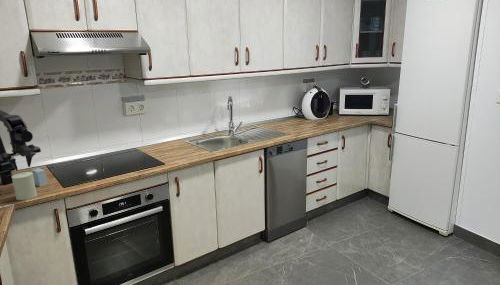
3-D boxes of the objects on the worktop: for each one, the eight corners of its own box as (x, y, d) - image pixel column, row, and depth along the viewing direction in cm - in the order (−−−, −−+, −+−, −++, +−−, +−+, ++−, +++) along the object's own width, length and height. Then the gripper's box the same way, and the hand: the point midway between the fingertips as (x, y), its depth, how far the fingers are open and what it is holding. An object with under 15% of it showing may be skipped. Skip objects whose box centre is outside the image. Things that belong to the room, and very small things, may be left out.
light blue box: (33, 184, 199) (30, 170, 197) (40, 181, 203) (38, 168, 200) (40, 186, 196) (37, 172, 193) (47, 183, 199) (44, 170, 197)
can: (40, 192, 187) (35, 170, 184) (32, 199, 178) (27, 176, 175) (21, 193, 186) (16, 171, 183) (12, 201, 177) (7, 177, 174)
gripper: (4, 146, 175) (11, 176, 179) (43, 137, 190) (48, 166, 194) (-6, 143, 181) (0, 173, 185) (32, 135, 196) (38, 163, 200)
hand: (23, 168), depth 191 cm, fingers open, 6 cm apart
